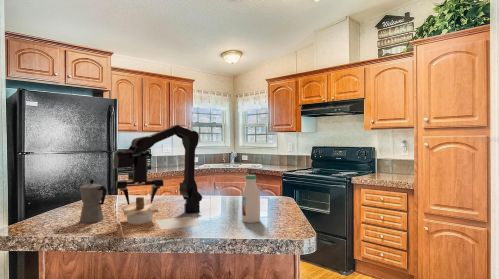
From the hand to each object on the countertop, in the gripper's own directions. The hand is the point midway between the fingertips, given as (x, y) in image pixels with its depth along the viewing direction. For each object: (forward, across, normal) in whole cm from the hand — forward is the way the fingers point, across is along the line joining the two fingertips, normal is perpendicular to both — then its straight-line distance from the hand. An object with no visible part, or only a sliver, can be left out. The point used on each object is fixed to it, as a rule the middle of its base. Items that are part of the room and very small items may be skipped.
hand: (140, 203), depth 132 cm
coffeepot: (+8, +18, -12) cm, 23 cm away
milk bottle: (+8, -44, +18) cm, 48 cm away
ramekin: (+8, 0, 0) cm, 8 cm away
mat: (+8, -14, +9) cm, 18 cm away
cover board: (+3, 0, 0) cm, 3 cm away
